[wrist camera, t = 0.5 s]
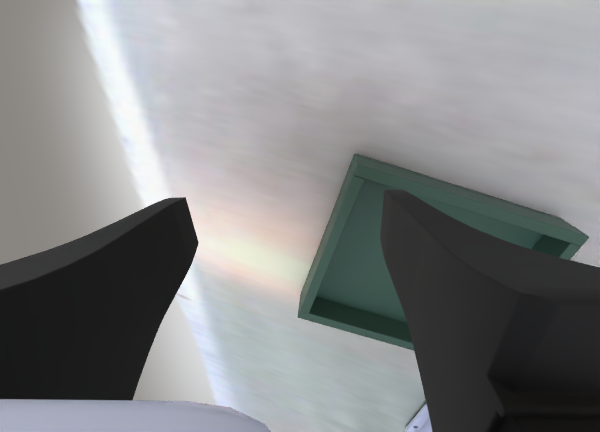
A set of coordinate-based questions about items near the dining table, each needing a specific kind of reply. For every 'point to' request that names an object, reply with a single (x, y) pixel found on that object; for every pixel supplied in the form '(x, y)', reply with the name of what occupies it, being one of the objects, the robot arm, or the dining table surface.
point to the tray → (369, 256)
